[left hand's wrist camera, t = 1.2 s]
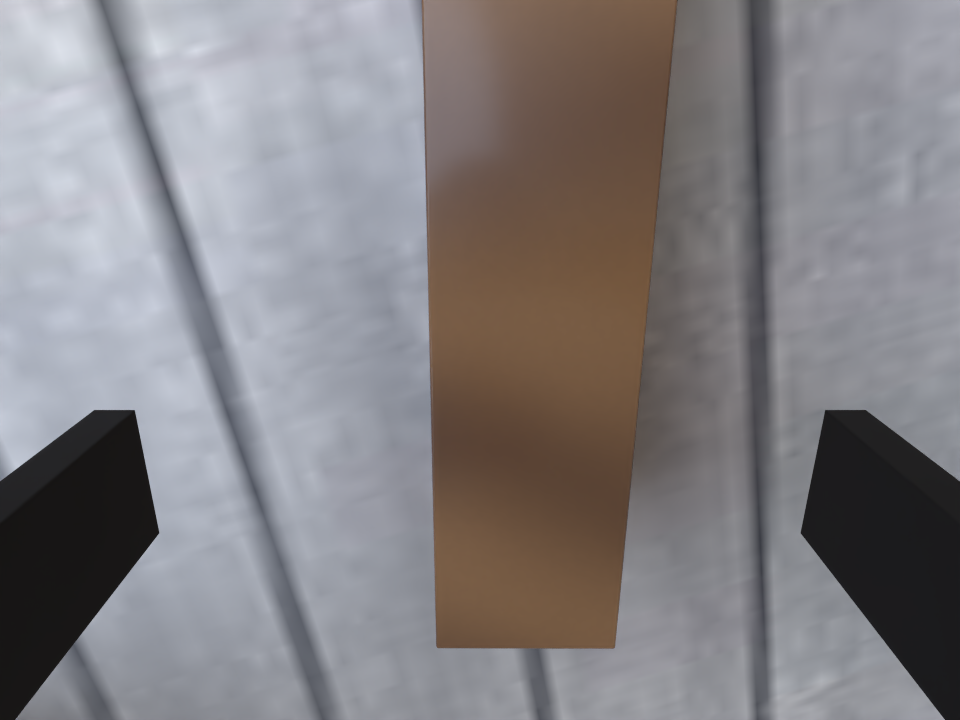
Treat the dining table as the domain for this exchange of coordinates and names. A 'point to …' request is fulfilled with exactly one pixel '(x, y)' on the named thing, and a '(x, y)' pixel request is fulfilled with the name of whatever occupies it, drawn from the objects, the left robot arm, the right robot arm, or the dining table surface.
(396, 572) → the dining table surface
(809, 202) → the dining table surface
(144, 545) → the left robot arm
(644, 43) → the post
